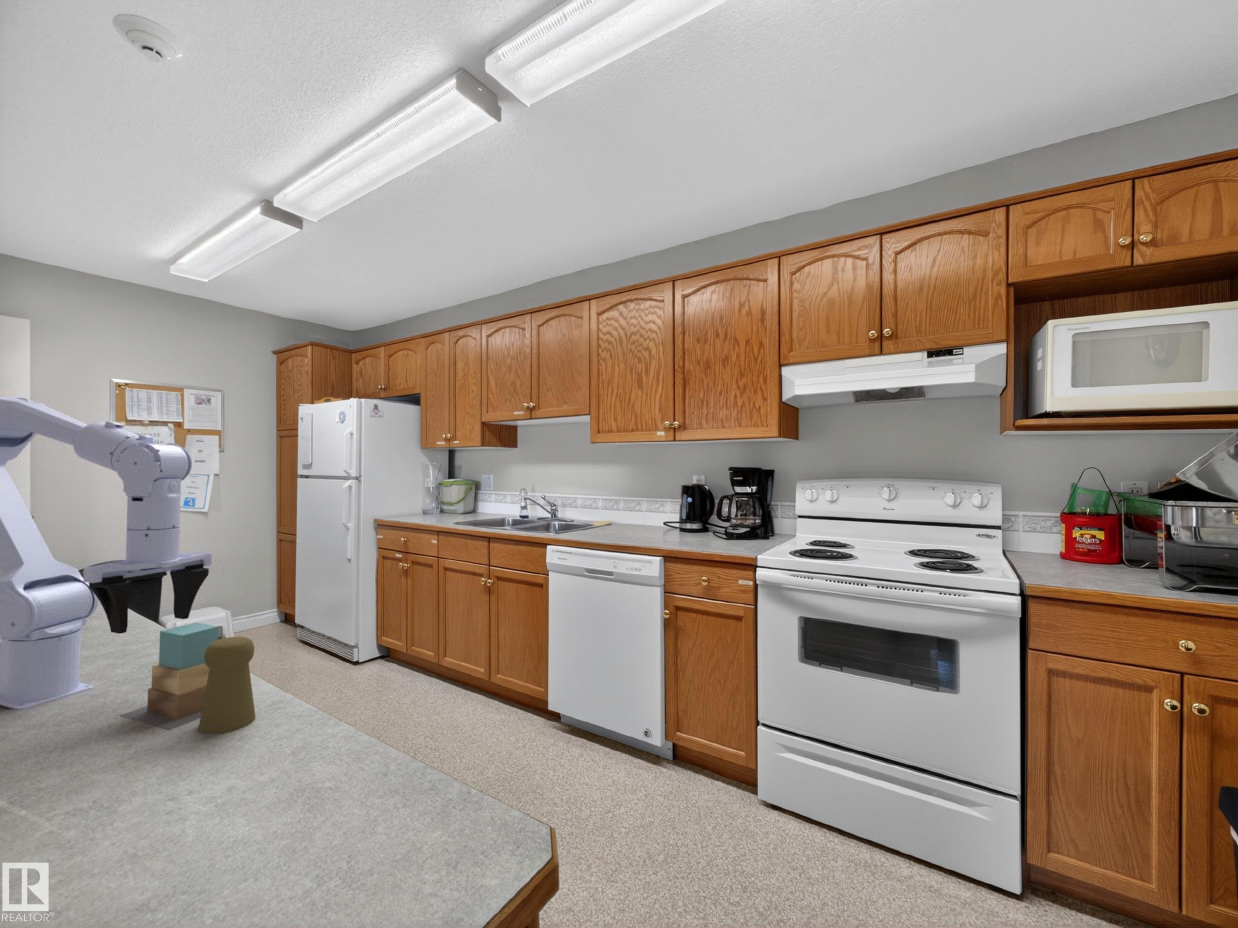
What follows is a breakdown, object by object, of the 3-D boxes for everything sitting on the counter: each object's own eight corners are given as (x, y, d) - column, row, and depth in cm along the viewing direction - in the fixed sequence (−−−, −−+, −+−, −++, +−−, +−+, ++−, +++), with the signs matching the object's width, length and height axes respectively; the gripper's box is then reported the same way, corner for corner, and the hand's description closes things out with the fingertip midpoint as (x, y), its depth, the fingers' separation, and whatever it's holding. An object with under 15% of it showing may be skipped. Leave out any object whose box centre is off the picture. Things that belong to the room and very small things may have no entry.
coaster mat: (119, 718, 70) (119, 715, 70) (201, 689, 80) (201, 687, 80) (169, 732, 67) (169, 729, 67) (249, 701, 76) (249, 698, 76)
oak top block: (151, 688, 72) (152, 665, 72) (196, 674, 77) (197, 652, 77) (178, 695, 70) (179, 671, 70) (222, 680, 75) (223, 658, 75)
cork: (225, 740, 65) (228, 648, 65) (184, 734, 67) (187, 644, 67) (267, 718, 71) (270, 634, 71) (229, 712, 72) (231, 630, 73)
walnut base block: (147, 711, 71) (147, 688, 71) (196, 694, 77) (197, 673, 77) (176, 719, 69) (177, 696, 69) (225, 701, 75) (225, 679, 75)
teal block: (158, 665, 72) (160, 631, 72) (195, 654, 76) (196, 622, 76) (181, 670, 70) (182, 635, 70) (217, 659, 74) (218, 626, 75)
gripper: (107, 535, 68) (105, 643, 68) (226, 525, 82) (224, 615, 82) (74, 532, 71) (72, 636, 71) (195, 523, 84) (193, 610, 84)
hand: (151, 624), depth 76 cm, fingers open, 7 cm apart
